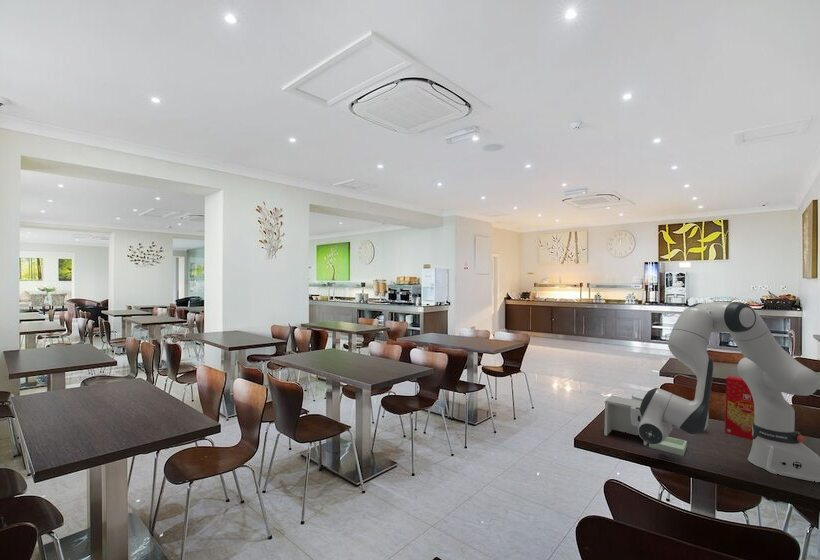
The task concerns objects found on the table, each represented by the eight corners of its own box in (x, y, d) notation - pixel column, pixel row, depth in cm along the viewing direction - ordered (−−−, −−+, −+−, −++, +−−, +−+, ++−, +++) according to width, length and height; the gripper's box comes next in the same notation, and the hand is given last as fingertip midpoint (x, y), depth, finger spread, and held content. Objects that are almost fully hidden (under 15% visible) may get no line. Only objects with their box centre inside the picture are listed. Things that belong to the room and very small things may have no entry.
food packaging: (725, 433, 181) (726, 377, 181) (727, 430, 184) (729, 376, 184) (768, 444, 170) (770, 384, 169) (770, 441, 173) (772, 382, 173)
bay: (651, 437, 173) (652, 402, 173) (646, 445, 165) (647, 408, 165) (610, 428, 183) (611, 395, 183) (604, 435, 175) (605, 400, 175)
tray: (686, 447, 164) (686, 440, 164) (683, 456, 155) (683, 449, 155) (653, 439, 172) (654, 433, 172) (649, 447, 163) (649, 441, 163)
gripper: (693, 419, 138) (697, 410, 149) (627, 406, 151) (634, 398, 162) (693, 438, 138) (696, 427, 149) (626, 423, 151) (634, 414, 162)
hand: (663, 412), depth 156 cm, fingers closed on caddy, 5 cm apart
